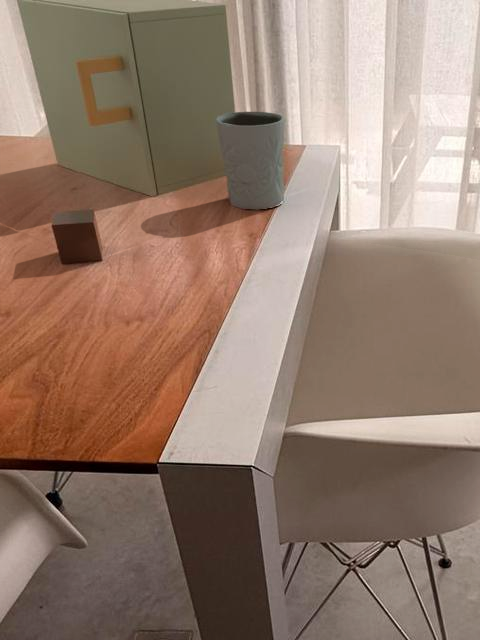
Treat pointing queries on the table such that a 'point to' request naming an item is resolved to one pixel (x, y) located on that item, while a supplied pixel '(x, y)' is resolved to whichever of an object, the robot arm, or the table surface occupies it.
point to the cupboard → (179, 83)
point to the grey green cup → (253, 158)
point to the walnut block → (77, 236)
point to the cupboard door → (90, 91)
